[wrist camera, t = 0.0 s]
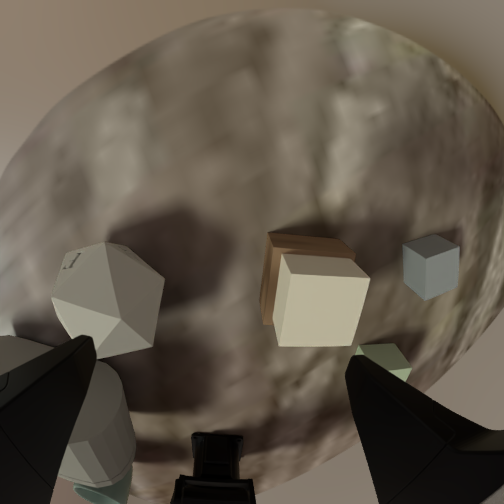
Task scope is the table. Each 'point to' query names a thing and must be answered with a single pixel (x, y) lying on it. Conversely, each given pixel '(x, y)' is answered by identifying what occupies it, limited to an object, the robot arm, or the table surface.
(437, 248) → the slate cube
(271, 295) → the tower base
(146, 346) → the die
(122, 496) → the cup
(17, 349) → the alarm clock
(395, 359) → the sage cube
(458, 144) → the table surface
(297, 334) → the tower top
